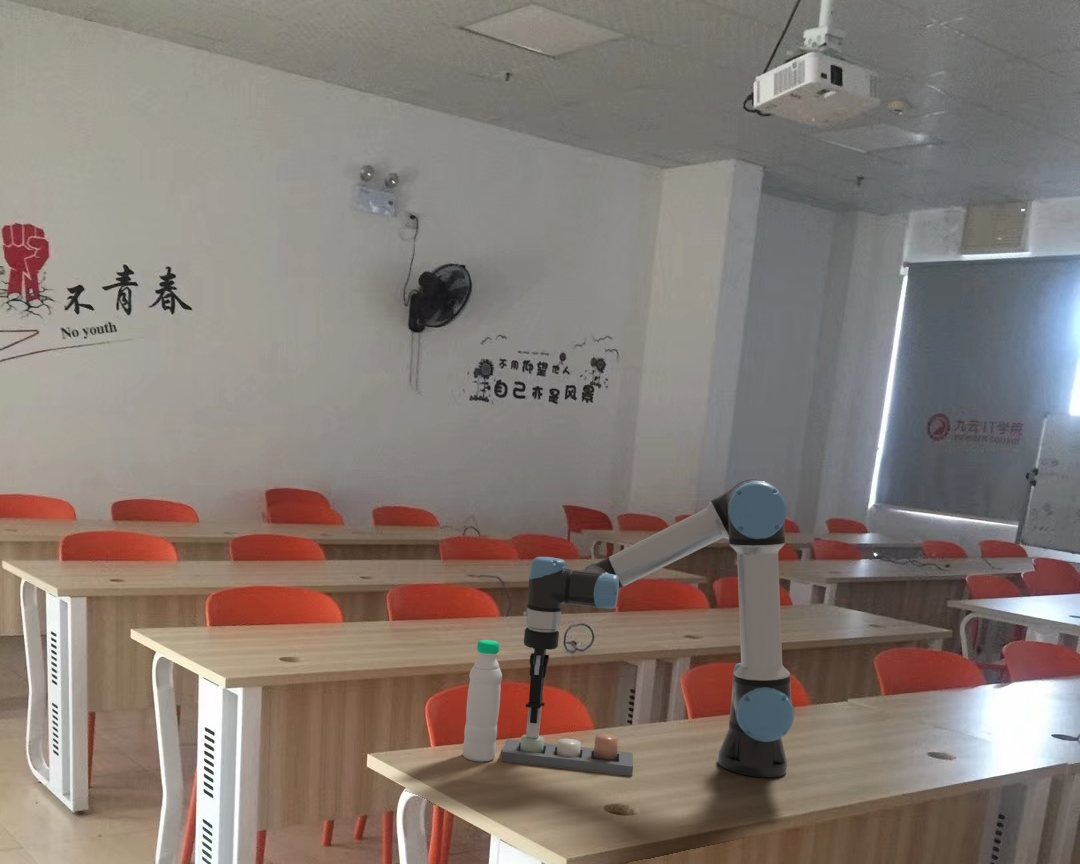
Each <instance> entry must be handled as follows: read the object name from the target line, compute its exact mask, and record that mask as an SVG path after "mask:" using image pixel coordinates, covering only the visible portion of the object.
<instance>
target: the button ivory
mask: <svg viewBox="0 0 1080 864" xmlns="http://www.w3.org/2000/svg"><path fill="white" fill-rule="evenodd" d="M557 744H558V745H557V755H559V756H568V757H578V758H580V747H582V746H581V744H582V742H581V741H580V740H577V739H572V738H559V739H558V740H557Z"/></svg>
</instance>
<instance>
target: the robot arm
mask: <svg viewBox="0 0 1080 864" xmlns="http://www.w3.org/2000/svg"><path fill="white" fill-rule="evenodd" d="M708 502H709V503H708V505H707V507H706V508H704V509H702V510H700V511H698V512H696V513H694V514H692V515H689V516H688V517H685V518H684V519H682V520H680V521H678V522H675V523H674V524H672V525H670V526H668V527H665V528H664V529H662V530H660V531H658V532H656V533H654V534H652V535H649V536H648V537H646V538H645V539H642V540H640V541H637V542H636V543H634V544H632V545H630V546H628V547H626V548H624V549H622V550H619V551H618V552H616V553H613V554H612V555H610V556H608V557H606V558H604V559H602V560H600V561H599V562H596V563H591V564H589V565H588V566H586V567H584V569H583V570H578V569H577V570H575V569H569V568H567V566H566V560H564V559H563V558H558V557H557V558H556V557H552V556H537V557H535V558H534V559H532V561H531V566H530V571H529V572H530V574H529V577H528V589H527V604H526V605H527V606H526V611H524V612H523V616H524V617H526V618H525V626H526V628H525V629H524V634H523V635H524V636H523V644H524V646H525V647H526V648H529V649H530V648H532V649H534V650H533V653H530V656H529V664H530V667H529V676H530V680H529V681H530V682H529V683H530V684H529V694H528V695H529V696H528V703H525V708H528V710H527V719H526V721H527V722H526V729H525V730H526V731H525V735H526V737H531V738H538V737H539V736H540V727H541V726H540V725H541V715H542V707H545V704H546V703H545V702H543V699H544V698H543V697H544V696H543V693H544V684H545V677H546V674H547V671H548V670H547V669H548V664H549V660H550V654H547V650H549V651H550V650H556V649H557V648H558V647H559V640H560V639H559V637H560V632H559V629H561V618H562V605H563V604H565V605H572V606H573V605H574V606H582V607H589V608H596V609H597V608H598V609H599V610H600V609H610V610H611V609H612V610H613V609H615V608H616V607H617V604H618V597H619V590H620V589H622V588H623V587H626V586H627V585H630V584H632V583H634V582H636V581H638V580H641V579H642V578H644V577H646V576H648V575H650V574H652V573H654V572H656V571H658V570H660V569H662V568H664V567H667V566H668V565H670V564H672V563H675V562H676V561H678V560H681V559H683V558H684V557H687V556H689V555H690V554H694V553H695V552H697V551H699V550H701V549H703V548H705V547H707V546H709V545H711V544H714V543H715V542H718V541H720V540H721V539H726V540H729V541H728V543H729V546H730V548H732V549H733V550H734V552H735V553H736V560H737V561H736V564H737V566H736V567H737V586H738V587H737V590H738V591H737V592H738V612H739V613H738V615H739V617H738V621H739V638H740V639H739V643H740V661H741V662H739V663H736V664H735V665H734V668H733V673H732V678H733V679H732V687H731V688H732V690H731V700H730V712H729V722H728V729H727V733H726V734H725V737H724V740H723V741H722V744H721V746H720V748H719V751H718V757H717V758H718V759H717V763H718V765H719V766H721V767H722V768H724V769H725V770H726V771H727V770H728V771H730V772H733V773H735V774H740V775H744V776H748V777H755V778H778V777H782V776H785V775H786V774H787V770H788V769H787V767H788V760H787V757H786V751H785V747H784V742H783V737H784V736H786V735H787V734H788V733H789V731H790V730H791V728H792V726H793V723H794V720H795V708H794V705H793V702H792V692H791V691H792V687H791V672H790V671H789V670H788V669H787V668H786V667H784V665H783V648H782V645H783V644H782V622H781V621H782V619H781V596H780V591H781V590H780V570H779V569H780V568H779V566H780V565H779V551H780V550H781V549H782V548H783V547H784V546H785V545H786V538H785V537H786V536H785V535H786V533H785V521H786V518H787V517H786V516H787V504H786V500H785V498H784V496H783V494H782V493H781V492H780V490H779V489H778V488H777V487H776V486H775V485H774V484H773V485H772V484H771V483H769V482H766V481H763V480H760V479H746V480H743V481H740V482H739V483H737V484H736V485H734V486H733V487H732V488H730V489H729V490H727V491H726V492H724V493H722V495H719V496H718V497H715V498H714V499H712V500H710V501H708Z"/></svg>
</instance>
